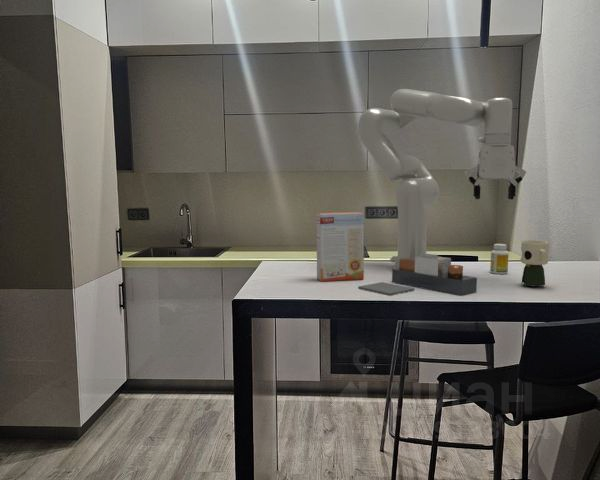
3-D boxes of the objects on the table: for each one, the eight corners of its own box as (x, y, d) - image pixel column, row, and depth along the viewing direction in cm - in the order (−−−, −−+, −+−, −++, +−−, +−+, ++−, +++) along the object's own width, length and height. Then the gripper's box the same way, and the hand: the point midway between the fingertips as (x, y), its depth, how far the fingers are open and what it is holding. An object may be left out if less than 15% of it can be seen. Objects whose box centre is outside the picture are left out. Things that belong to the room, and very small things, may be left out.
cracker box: (358, 276, 161) (358, 211, 159) (364, 280, 155) (364, 212, 153) (315, 278, 158) (315, 212, 156) (320, 281, 152) (320, 213, 150)
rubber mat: (358, 288, 142) (358, 286, 142) (382, 284, 148) (382, 282, 148) (390, 295, 133) (390, 293, 132) (414, 290, 139) (414, 288, 139)
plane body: (392, 282, 151) (392, 259, 150) (407, 279, 155) (407, 257, 154) (461, 295, 132) (462, 269, 131) (476, 291, 136) (477, 266, 136)
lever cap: (414, 272, 144) (415, 254, 144) (427, 270, 148) (427, 252, 148) (437, 276, 138) (438, 257, 138) (450, 273, 142) (451, 255, 141)
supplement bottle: (487, 272, 166) (488, 244, 165) (495, 271, 170) (496, 243, 169) (502, 275, 162) (503, 245, 161) (510, 273, 166) (511, 244, 165)
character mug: (512, 282, 149) (514, 239, 148) (535, 282, 149) (537, 239, 148) (530, 290, 138) (532, 243, 137) (555, 290, 139) (557, 243, 137)
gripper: (469, 140, 145) (467, 199, 147) (531, 140, 143) (528, 199, 145) (464, 142, 153) (461, 198, 155) (523, 142, 151) (519, 198, 153)
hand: (494, 199), depth 150 cm, fingers open, 9 cm apart
